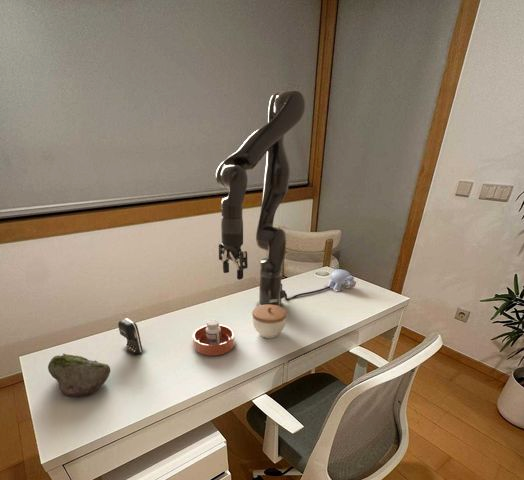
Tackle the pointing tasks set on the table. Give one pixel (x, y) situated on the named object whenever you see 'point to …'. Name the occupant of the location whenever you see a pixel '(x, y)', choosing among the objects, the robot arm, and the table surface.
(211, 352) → the terracotta bowl
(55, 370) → the stone
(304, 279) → the table surface
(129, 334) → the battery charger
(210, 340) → the pill bottle
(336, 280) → the hippopotamus toy
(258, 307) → the lidded bowl
